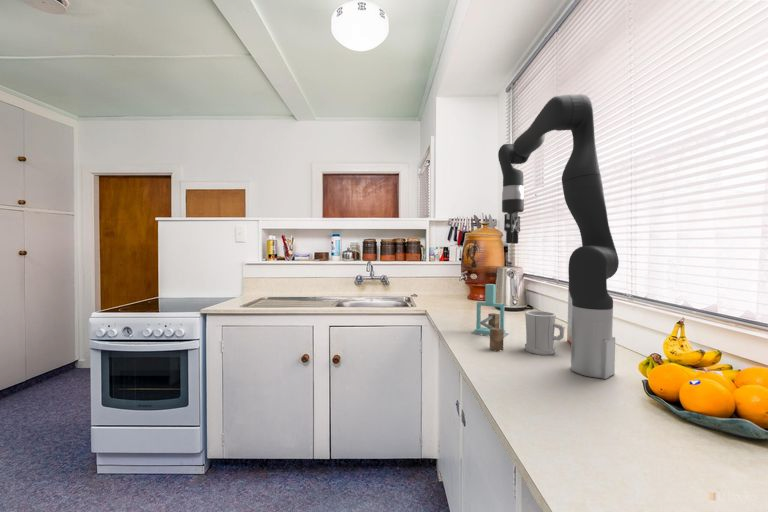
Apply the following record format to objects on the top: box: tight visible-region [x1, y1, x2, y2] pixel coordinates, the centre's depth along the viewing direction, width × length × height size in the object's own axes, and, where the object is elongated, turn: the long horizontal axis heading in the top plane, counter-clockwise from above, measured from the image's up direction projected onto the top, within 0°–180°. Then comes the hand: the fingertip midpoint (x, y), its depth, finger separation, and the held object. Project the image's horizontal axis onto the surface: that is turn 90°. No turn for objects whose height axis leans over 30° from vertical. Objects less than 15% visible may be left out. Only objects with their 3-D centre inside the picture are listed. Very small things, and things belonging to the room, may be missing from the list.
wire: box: [480, 315, 494, 329], centre depth 125 cm, size 6×26×1 cm, turn 164°
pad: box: [471, 330, 509, 339], centre depth 132 cm, size 7×12×1 cm, turn 57°
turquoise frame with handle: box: [474, 283, 506, 335], centre depth 132 cm, size 5×10×18 cm, turn 57°
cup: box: [524, 310, 566, 356], centre depth 111 cm, size 10×9×12 cm
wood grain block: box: [487, 312, 505, 352], centre depth 125 cm, size 4×30×7 cm, turn 164°
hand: (512, 243), depth 129 cm, fingers open, 8 cm apart
